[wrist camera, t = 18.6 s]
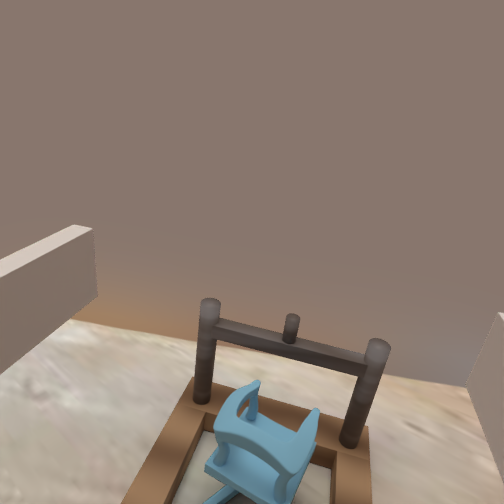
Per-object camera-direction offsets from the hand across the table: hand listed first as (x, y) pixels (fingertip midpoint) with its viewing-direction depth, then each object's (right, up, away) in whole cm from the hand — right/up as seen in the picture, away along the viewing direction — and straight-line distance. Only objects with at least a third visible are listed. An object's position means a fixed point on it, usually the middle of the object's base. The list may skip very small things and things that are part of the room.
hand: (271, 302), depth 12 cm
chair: (-1, -20, +19) cm, 28 cm away
